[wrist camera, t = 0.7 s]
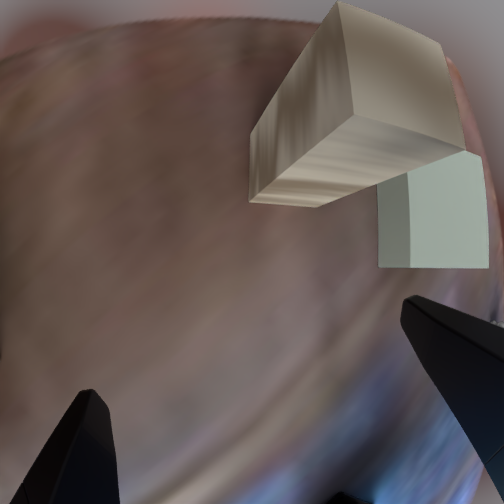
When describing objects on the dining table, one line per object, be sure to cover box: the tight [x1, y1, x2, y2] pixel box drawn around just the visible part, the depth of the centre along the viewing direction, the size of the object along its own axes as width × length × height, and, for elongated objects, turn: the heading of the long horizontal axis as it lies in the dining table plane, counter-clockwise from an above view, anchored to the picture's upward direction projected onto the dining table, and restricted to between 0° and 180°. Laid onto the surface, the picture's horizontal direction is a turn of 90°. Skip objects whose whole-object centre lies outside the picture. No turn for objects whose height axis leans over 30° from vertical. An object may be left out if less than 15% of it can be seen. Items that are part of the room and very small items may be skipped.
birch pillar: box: [248, 1, 466, 208], centre depth 16 cm, size 5×5×14 cm
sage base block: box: [377, 150, 489, 268], centre depth 23 cm, size 10×10×4 cm
